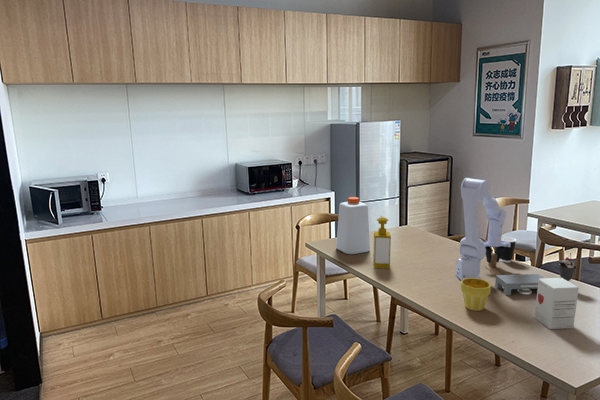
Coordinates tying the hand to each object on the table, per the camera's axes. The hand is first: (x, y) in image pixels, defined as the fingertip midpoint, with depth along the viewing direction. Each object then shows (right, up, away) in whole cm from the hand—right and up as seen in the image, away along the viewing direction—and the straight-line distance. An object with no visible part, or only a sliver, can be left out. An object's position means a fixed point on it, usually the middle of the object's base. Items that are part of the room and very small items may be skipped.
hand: (492, 261), depth 209 cm
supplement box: (-1, -14, -52) cm, 54 cm away
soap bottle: (-50, -2, +8) cm, 51 cm away
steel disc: (+1, -9, -27) cm, 28 cm away
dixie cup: (+11, -1, +10) cm, 15 cm away
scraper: (0, -5, -9) cm, 10 cm away
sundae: (+19, -8, -24) cm, 32 cm away
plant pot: (-24, -12, -40) cm, 48 cm away
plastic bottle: (-62, +2, +29) cm, 68 cm away
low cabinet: (+1, -8, -25) cm, 26 cm away
